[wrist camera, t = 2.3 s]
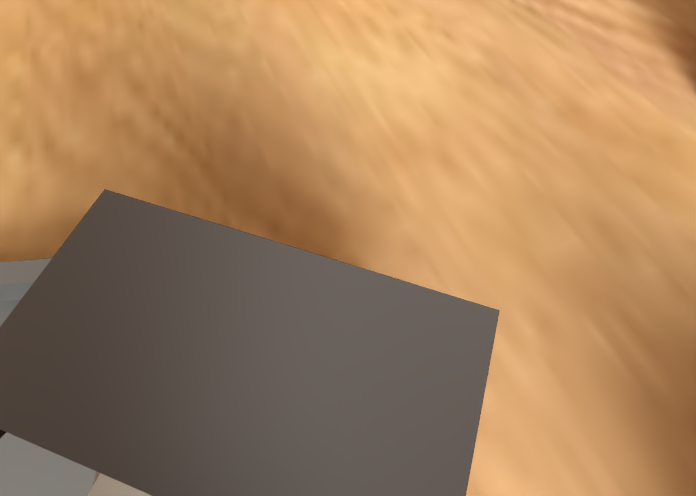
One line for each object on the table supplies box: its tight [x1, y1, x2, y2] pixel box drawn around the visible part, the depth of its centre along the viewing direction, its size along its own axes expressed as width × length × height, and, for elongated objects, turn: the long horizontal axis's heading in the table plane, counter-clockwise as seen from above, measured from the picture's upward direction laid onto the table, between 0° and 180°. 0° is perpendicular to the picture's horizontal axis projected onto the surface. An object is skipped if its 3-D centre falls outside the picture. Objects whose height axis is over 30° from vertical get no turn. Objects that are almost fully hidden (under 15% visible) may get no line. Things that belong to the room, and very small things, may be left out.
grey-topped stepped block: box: [0, 189, 499, 496], centre depth 10 cm, size 6×6×12 cm
